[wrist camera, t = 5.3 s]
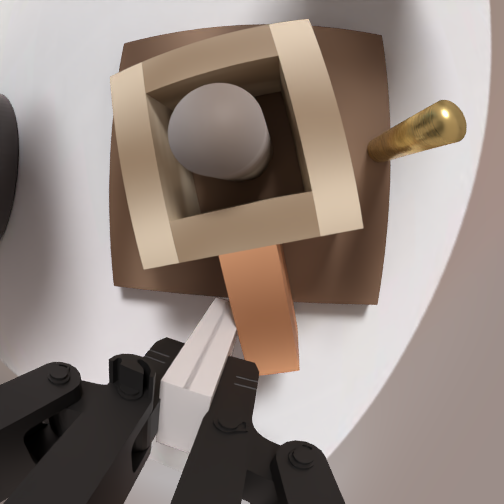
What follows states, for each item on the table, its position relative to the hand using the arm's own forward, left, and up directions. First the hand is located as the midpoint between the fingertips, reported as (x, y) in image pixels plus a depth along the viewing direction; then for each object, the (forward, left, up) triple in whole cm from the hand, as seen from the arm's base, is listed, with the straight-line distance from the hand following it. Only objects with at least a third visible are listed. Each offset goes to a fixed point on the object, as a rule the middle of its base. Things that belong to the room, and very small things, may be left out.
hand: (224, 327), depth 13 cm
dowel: (+7, +8, -2) cm, 11 cm away
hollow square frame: (+1, +6, -2) cm, 6 cm away
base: (0, +8, -3) cm, 9 cm away
